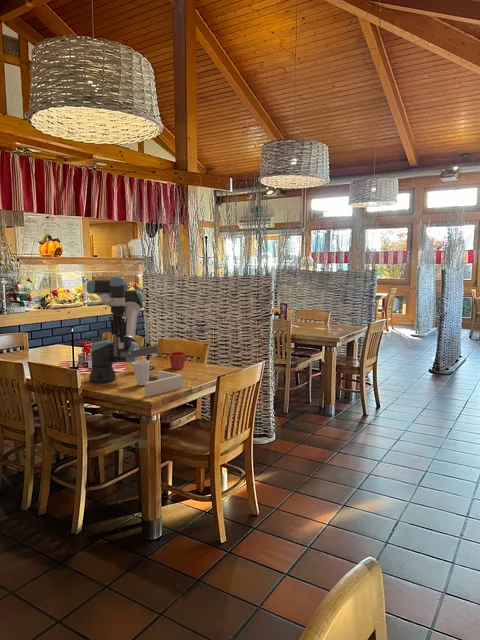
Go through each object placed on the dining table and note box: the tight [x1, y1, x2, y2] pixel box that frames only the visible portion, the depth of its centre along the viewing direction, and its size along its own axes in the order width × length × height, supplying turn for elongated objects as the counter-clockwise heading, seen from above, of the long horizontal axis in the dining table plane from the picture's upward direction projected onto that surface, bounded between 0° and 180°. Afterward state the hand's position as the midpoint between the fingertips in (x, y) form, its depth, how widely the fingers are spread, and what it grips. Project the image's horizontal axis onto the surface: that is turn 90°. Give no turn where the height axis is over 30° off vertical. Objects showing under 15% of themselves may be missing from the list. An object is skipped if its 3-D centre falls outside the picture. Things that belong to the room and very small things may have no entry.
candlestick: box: [139, 315, 156, 371], centre depth 309 cm, size 11×11×35 cm
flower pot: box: [168, 351, 187, 370], centre depth 313 cm, size 11×11×10 cm
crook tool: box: [112, 332, 159, 358], centre depth 264 cm, size 14×20×12 cm
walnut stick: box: [149, 373, 158, 382], centre depth 280 cm, size 16×3×3 cm, turn 49°
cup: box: [131, 359, 151, 386], centre depth 267 cm, size 10×10×13 cm
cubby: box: [144, 370, 184, 398], centre depth 258 cm, size 19×24×7 cm
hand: (119, 347), depth 261 cm, fingers closed on crook tool, 3 cm apart
